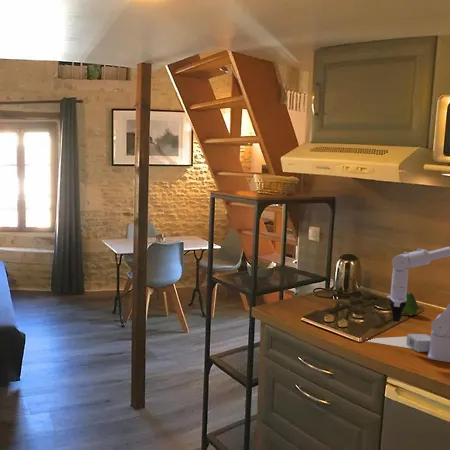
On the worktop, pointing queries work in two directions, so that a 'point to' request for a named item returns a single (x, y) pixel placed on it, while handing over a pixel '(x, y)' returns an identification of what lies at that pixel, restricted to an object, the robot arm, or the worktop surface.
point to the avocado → (410, 304)
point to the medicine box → (419, 342)
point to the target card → (392, 341)
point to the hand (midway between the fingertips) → (396, 321)
